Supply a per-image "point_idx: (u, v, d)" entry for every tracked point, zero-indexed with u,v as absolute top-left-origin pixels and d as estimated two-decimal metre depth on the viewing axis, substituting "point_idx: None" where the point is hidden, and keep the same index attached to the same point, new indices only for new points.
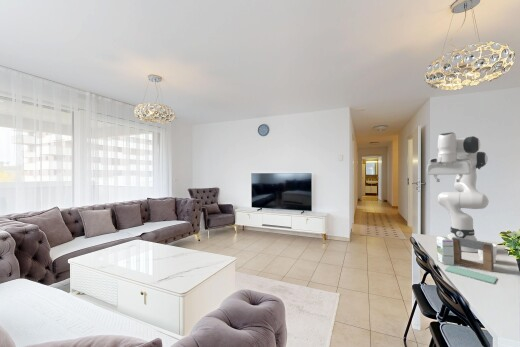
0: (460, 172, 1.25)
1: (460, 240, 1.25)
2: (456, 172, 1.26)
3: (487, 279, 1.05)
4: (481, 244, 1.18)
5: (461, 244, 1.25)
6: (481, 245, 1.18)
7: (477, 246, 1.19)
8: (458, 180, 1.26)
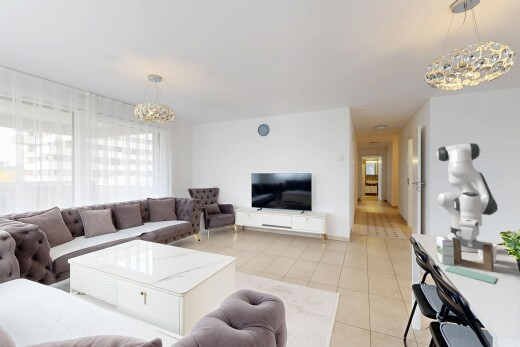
0: (478, 234, 1.25)
1: (460, 240, 1.25)
2: (477, 234, 1.24)
3: (487, 279, 1.05)
4: (481, 244, 1.18)
5: (461, 244, 1.25)
6: (481, 245, 1.18)
7: (477, 246, 1.19)
8: None
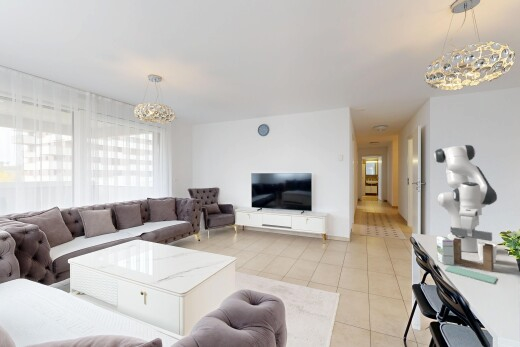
0: (477, 224, 1.25)
1: (460, 230, 1.25)
2: (477, 224, 1.24)
3: (487, 279, 1.05)
4: (481, 233, 1.18)
5: (461, 234, 1.25)
6: (481, 234, 1.18)
7: (477, 236, 1.20)
8: None
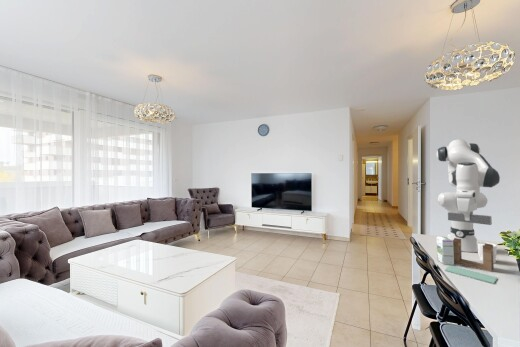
0: (475, 208, 1.14)
1: (456, 215, 1.15)
2: (475, 208, 1.13)
3: (487, 279, 1.05)
4: (479, 217, 1.08)
5: (457, 219, 1.14)
6: (479, 218, 1.08)
7: (475, 220, 1.09)
8: None
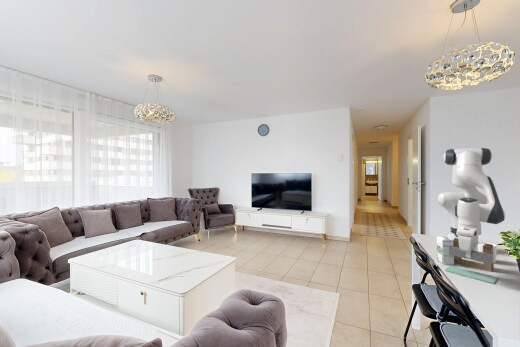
0: (477, 243, 1.13)
1: (457, 250, 1.14)
2: (476, 244, 1.12)
3: (487, 279, 1.05)
4: (480, 255, 1.07)
5: (459, 255, 1.14)
6: (481, 256, 1.07)
7: (476, 257, 1.08)
8: None
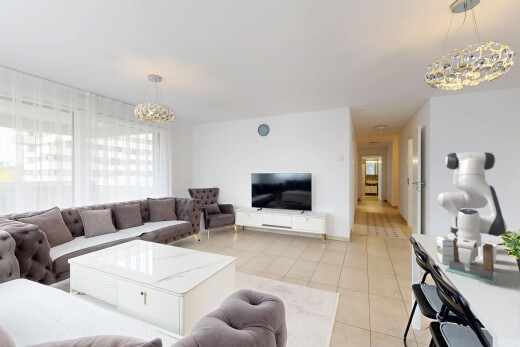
0: (477, 255, 1.14)
1: (457, 265, 1.14)
2: (476, 255, 1.13)
3: (487, 279, 1.05)
4: (480, 271, 1.07)
5: (459, 269, 1.14)
6: (480, 272, 1.07)
7: (476, 272, 1.08)
8: None
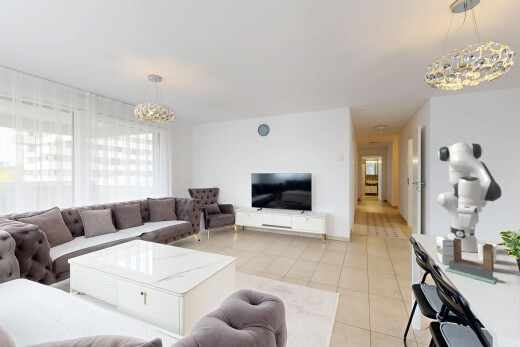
0: (477, 221, 1.16)
1: (457, 265, 1.14)
2: (476, 222, 1.15)
3: (487, 279, 1.05)
4: (480, 271, 1.07)
5: (459, 269, 1.14)
6: (480, 272, 1.07)
7: (476, 272, 1.08)
8: (474, 230, 1.16)
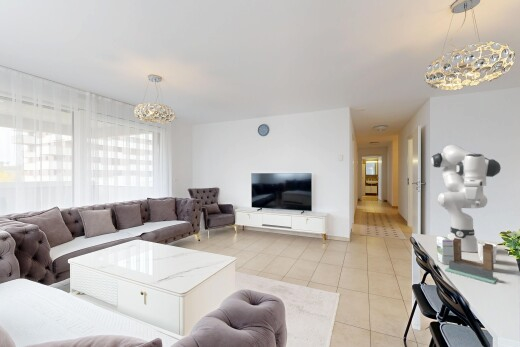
0: (482, 196, 1.23)
1: (457, 265, 1.14)
2: (481, 196, 1.22)
3: (487, 279, 1.05)
4: (480, 271, 1.07)
5: (459, 269, 1.14)
6: (480, 272, 1.07)
7: (476, 272, 1.08)
8: (479, 204, 1.23)
